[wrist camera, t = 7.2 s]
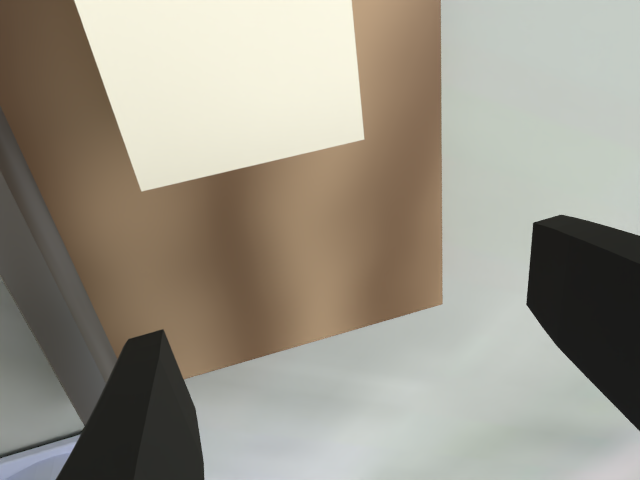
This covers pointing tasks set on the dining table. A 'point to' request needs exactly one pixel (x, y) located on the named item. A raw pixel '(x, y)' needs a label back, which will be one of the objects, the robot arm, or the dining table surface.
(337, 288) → the shelf board
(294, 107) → the carton
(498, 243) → the dining table surface
